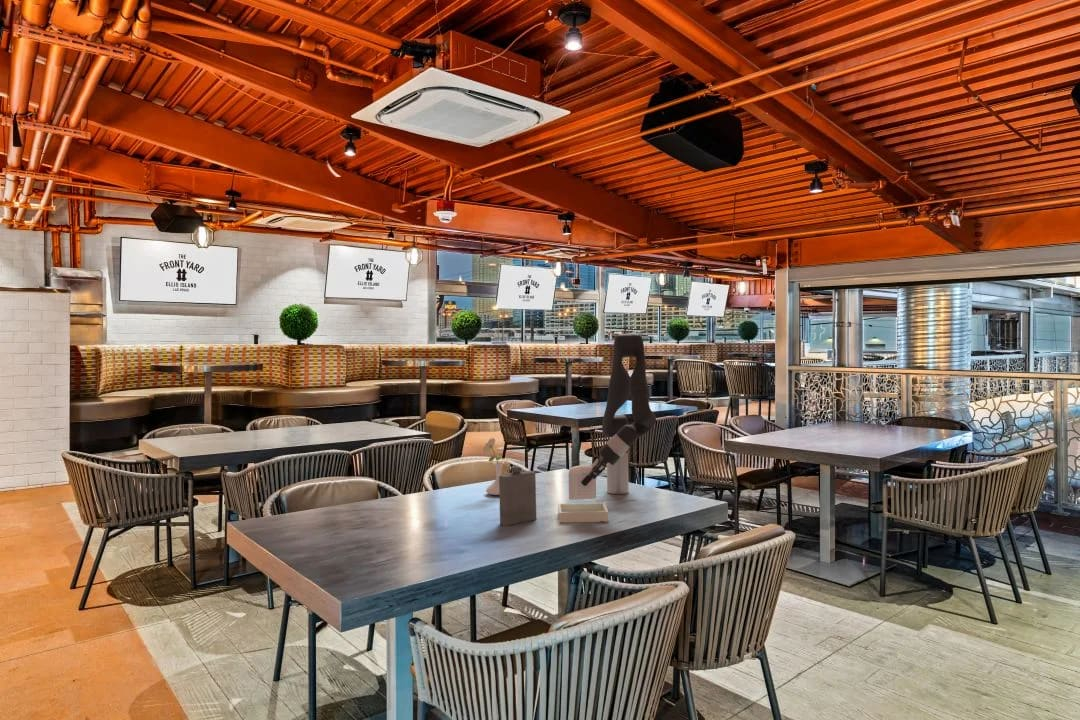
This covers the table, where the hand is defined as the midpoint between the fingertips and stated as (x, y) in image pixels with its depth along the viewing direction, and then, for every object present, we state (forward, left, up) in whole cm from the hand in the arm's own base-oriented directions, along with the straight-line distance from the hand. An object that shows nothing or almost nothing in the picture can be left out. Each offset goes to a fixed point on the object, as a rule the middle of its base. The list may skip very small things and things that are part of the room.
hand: (582, 482), depth 243 cm
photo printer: (0, 0, -6) cm, 6 cm away
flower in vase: (-41, -34, -13) cm, 55 cm away
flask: (+4, -24, -13) cm, 28 cm away
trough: (0, 0, -13) cm, 13 cm away
